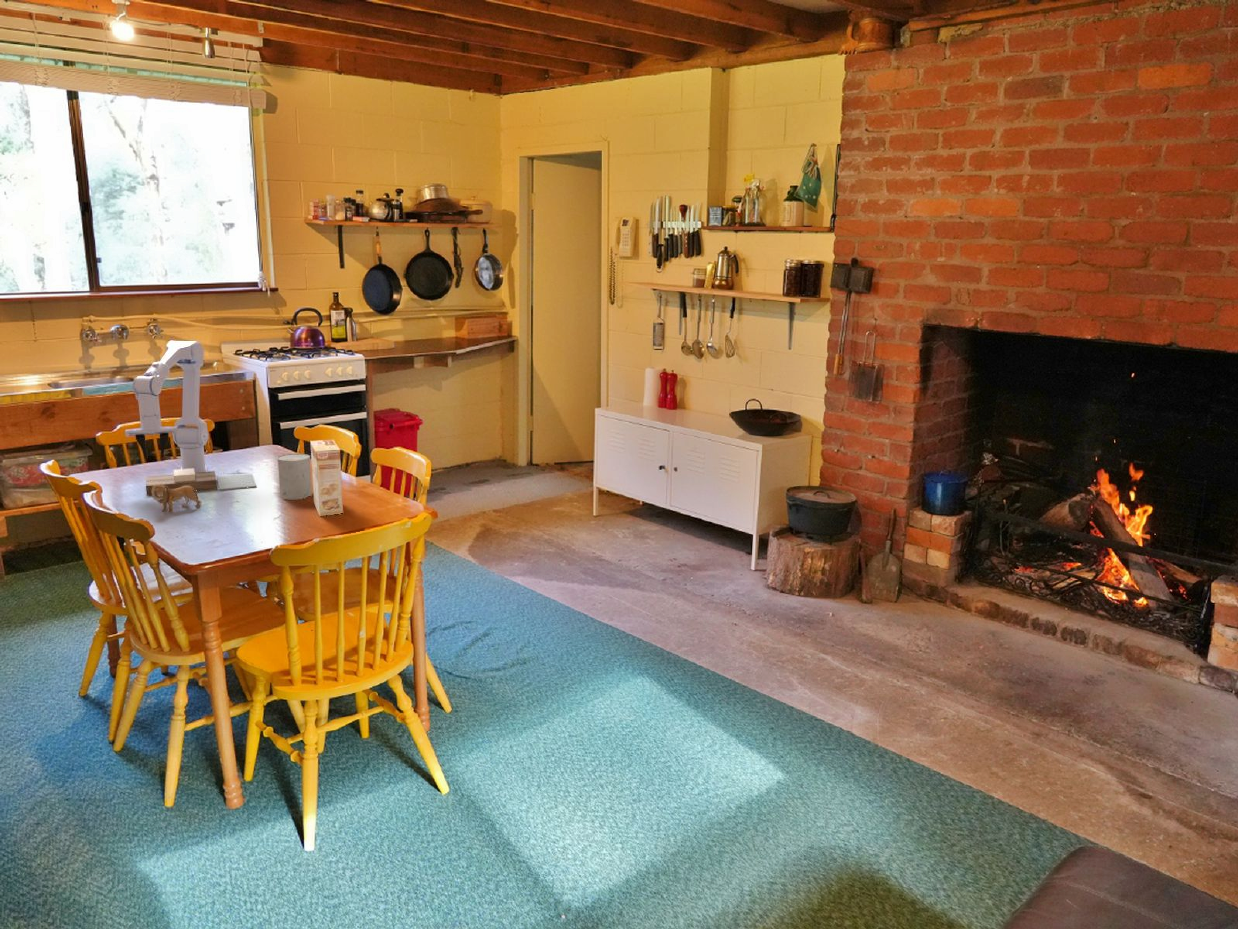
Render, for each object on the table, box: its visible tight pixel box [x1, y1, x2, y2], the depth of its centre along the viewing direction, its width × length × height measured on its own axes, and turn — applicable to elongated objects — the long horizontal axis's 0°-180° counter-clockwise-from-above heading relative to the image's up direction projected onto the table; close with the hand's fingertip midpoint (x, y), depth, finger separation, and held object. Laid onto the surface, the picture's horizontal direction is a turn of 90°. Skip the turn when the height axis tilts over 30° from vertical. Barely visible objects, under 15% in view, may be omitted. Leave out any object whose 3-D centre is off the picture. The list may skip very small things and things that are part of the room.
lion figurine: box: [151, 484, 202, 514], centre depth 273 cm, size 15×5×9 cm, turn 146°
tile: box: [173, 468, 195, 482], centre depth 296 cm, size 8×6×2 cm
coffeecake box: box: [310, 439, 344, 517], centre depth 275 cm, size 15×7×20 cm, turn 23°
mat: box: [216, 473, 257, 491], centre depth 303 cm, size 16×11×1 cm
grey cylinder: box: [277, 453, 313, 501], centre depth 289 cm, size 10×10×12 cm
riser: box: [145, 470, 218, 496], centre depth 296 cm, size 12×20×3 cm, turn 115°
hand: (154, 457), depth 291 cm, fingers open, 4 cm apart
